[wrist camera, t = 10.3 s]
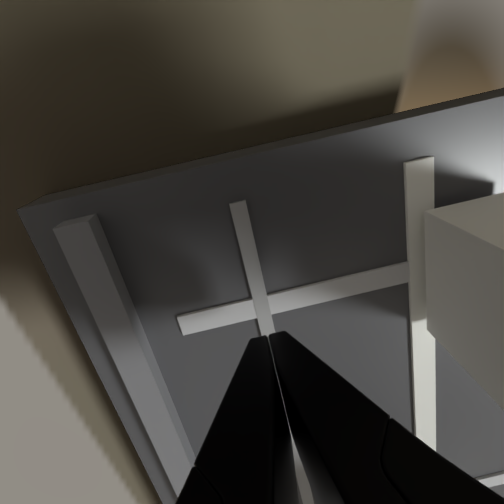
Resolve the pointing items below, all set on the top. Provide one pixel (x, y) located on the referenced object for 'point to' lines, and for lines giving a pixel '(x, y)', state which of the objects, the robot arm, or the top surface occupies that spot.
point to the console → (278, 278)
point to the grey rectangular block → (468, 286)
